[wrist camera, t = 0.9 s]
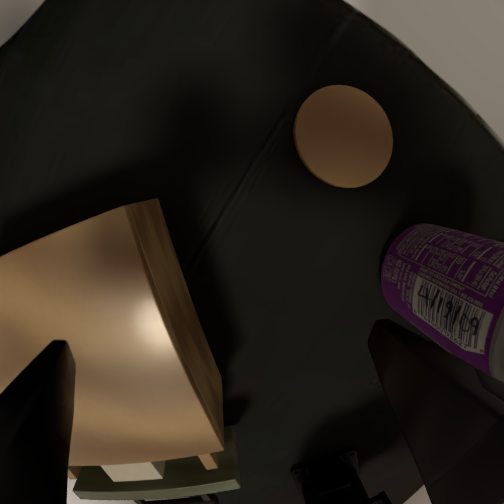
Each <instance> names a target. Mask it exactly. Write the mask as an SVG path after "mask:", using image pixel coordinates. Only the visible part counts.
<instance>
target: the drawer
mask: <svg viewBox="0 0 504 504" xmlns="http://www.w3.org/2000/svg"><path fill="white" fill-rule="evenodd" d="M68 477H69V478H70V479H77V480H76V483H75V486H74V488H73V492H74V493H75V494H76V495H77V496H78V497H79V498H80V499H89V500H134V501H135V502H136V503H137V504H219V500H218V498H217V496H216V495H215V494H212V495H210V493H215V492H221V491H227V490H233V489H238V488H240V487H241V486H240V476H239V465H238V454H237V443H236V434H235V432H234V430H233V428H232V426H226V427H224V451H219V452H214V453H209V454H203V455H197V456H191V457H185V458H178V459H171V460H166V461H165V468H164V475H163V479H152V480H139V481H119V482H114V481H113V480H112V479H111V478H110V477H109V476H108V474H107V473H106V472H105V471H104V470H103V468H102V467H101V466H68ZM193 495H200V496H198V497H189V498H181V499H170V500H155V501H145V499H163V498H175V497H185V496H193Z"/></svg>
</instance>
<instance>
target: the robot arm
mask: <svg viewBox="0 0 504 504" xmlns="http://www.w3.org/2000/svg"><path fill="white" fill-rule="evenodd" d="M368 347H369V350H370V353H371V356H372V359H373V361H374V364H375V367H376V370H377V373H378V376H379V379H380V382H381V384H382V387H383V389H384V392H385V394H386V396H387V398H388V400H389V403H390V405H391V407H392V409H393V411H394V414H395V416H396V418H397V420H398V423H399V425H400V427H401V430H402V432H403V434H404V436H405V439H406V441H407V443H408V446H409V448H410V451H411V453H412V455H413V458H414V460H415V463H416V465H417V467H418V470H419V472H420V475H421V477H422V480H423V482H424V485H425V487H426V490H427V493H428V495H429V498H430V501H431V503H432V504H504V382H502V381H500V380H498V379H496V378H494V377H492V376H490V375H488V374H486V373H485V372H483V371H481V370H479V369H477V368H475V367H474V366H472V365H470V364H469V363H467V362H465V361H463V360H461V359H460V358H458V357H456V356H454V355H452V354H451V353H449V352H447V351H445V350H444V349H442V348H440V347H438V346H436V345H435V344H433V343H431V342H429V341H427V340H426V339H424V338H422V337H420V336H418V335H417V334H415V333H413V332H411V331H410V330H408V329H406V328H404V327H402V326H401V325H399V324H397V323H395V322H393V321H392V320H390V319H380V320H377V321H376V322H375V323H374V325H373V328H372V331H371V333H370V336H369V338H368ZM75 376H76V363H75V359H74V357H73V354H72V351H71V349H70V346H69V343H68V342H67V341H66V340H58V339H55V340H52V341H51V342H50V343H49V344H48V345H47V346H46V347H45V348H44V349H43V350H42V351H41V352H40V353H39V354H38V355H37V356H36V357H35V358H34V359H33V360H32V361H31V362H30V363H29V364H28V365H27V366H26V367H25V368H24V369H23V370H22V371H21V372H20V373H19V374H18V376H17V377H16V378H15V379H14V380H13V381H12V382H11V383H10V384H9V385H8V386H7V387H6V388H5V389H4V390H3V391H2V393H1V394H0V504H67V502H66V501H67V479H68V465H69V454H70V444H71V434H72V426H73V417H74V395H75ZM291 474H292V477H293V479H294V482H295V484H296V487H297V490H298V492H299V495H300V497H301V500H303V501H305V504H392V503H391V502H390V500H389V498H388V497H387V495H386V494H385V492H384V491H383V492H381V493H379V495H376V496H374V497H372V498H370V499H369V497H368V495H367V493H366V491H365V489H364V486H363V484H362V482H361V480H360V477H359V468H358V460H357V452H356V450H355V449H354V448H351V449H348V450H345V451H343V452H340V453H337V454H334V455H331V456H329V457H326V458H323V459H320V460H316V461H313V462H310V463H307V464H304V465H300V466H297V467H294V468H292V469H291Z"/></svg>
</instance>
